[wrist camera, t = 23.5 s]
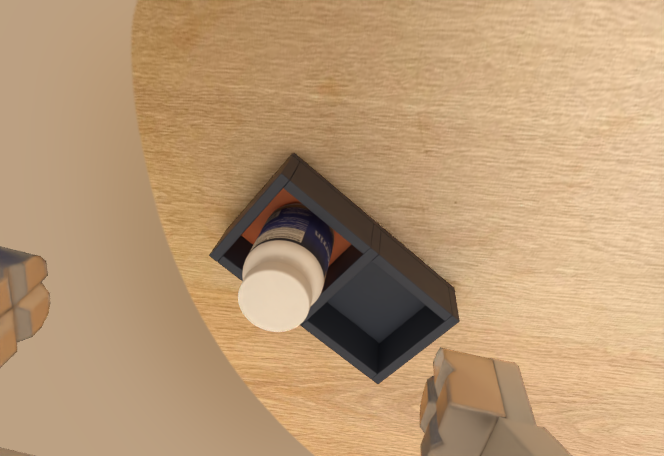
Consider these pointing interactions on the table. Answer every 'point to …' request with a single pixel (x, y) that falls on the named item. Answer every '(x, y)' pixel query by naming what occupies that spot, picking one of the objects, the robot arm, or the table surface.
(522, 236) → the table surface
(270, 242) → the pill bottle
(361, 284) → the tray
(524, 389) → the robot arm
